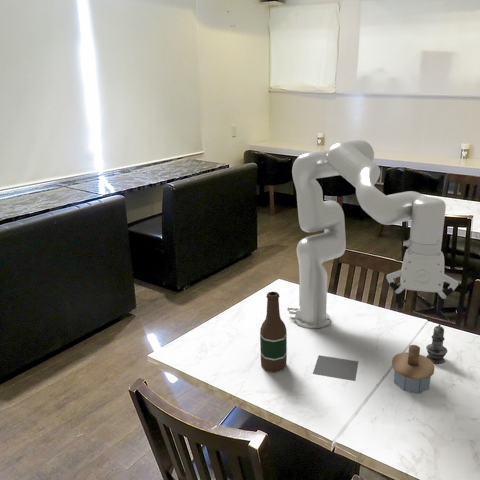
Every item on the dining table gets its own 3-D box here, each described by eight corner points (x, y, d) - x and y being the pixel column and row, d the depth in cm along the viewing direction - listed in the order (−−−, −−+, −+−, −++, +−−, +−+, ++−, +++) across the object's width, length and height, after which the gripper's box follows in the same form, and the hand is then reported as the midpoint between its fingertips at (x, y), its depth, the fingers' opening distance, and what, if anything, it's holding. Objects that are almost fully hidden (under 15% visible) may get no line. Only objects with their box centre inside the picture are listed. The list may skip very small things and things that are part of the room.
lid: (391, 375, 123) (392, 355, 121) (392, 353, 133) (393, 334, 131) (435, 382, 119) (437, 361, 117) (433, 359, 129) (435, 340, 127)
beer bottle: (272, 355, 143) (271, 285, 135) (292, 365, 137) (292, 292, 130) (255, 366, 138) (253, 293, 130) (274, 376, 132) (274, 302, 125)
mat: (312, 374, 133) (312, 373, 133) (318, 356, 142) (318, 355, 142) (354, 381, 129) (355, 380, 129) (358, 362, 138) (358, 361, 138)
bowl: (393, 389, 125) (395, 373, 123) (394, 370, 133) (395, 355, 132) (429, 395, 122) (431, 379, 121) (428, 375, 130) (430, 360, 129)
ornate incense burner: (440, 353, 141) (444, 318, 137) (449, 364, 135) (454, 328, 131) (421, 354, 141) (425, 319, 137) (430, 365, 135) (434, 329, 131)
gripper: (388, 248, 114) (383, 310, 120) (464, 254, 109) (455, 318, 114) (389, 239, 121) (384, 297, 127) (461, 244, 116) (453, 305, 121)
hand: (418, 307), depth 121 cm, fingers open, 9 cm apart
